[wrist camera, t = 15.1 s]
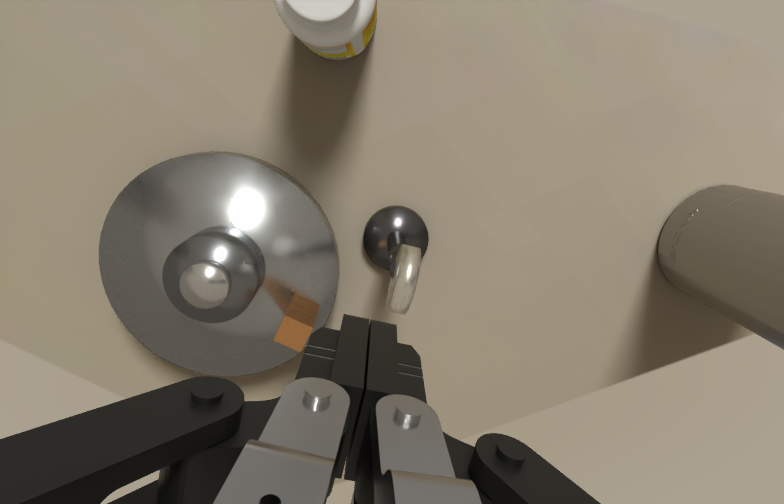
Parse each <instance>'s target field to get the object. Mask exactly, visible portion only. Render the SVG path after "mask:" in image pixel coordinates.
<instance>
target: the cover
mask: <svg viewBox="0 0 784 504" xmlns="http://www.w3.org/2000/svg"><path fill="white" fill-rule="evenodd" d="M265 272H266V264H265V259H264V256H263V254H262V251H261V249H260V248H259V246H258V245H257V244H256V242H255V241H254V240H253V239H252V238H251V237H249V236H248V235H247V234H245V233H244V232H242V231H240V230H237V229H235V228H231V227H226V226H213V227H209V228H205V229H203V230H201V231H199V232H197V233H196V234H194V235H193V236H191V237H190V238H188V239H187V240H185V241H184V242H182V243H181V244H179V245H178V246H177V247H175V248H174V249H173V250H172V251H171V253H170V254H169V255H168V257H167V259H166V261H165V263H164V266H163V271H162V281H163V286H164V290H165V292H166V295H167V297H168V298H169V300H170V301H171V303H172V304H173V305H174V306H175V307H176V308H177V309H178V310H179V311H180V312H181V313H183V314H184V315H186V316H187V317H189V318H191V319H194V320H196V321H200V322H204V323H222V322H226V321H229V320H232V319H234V318H236V317H237V316H239V315H240V314H241V313H242V312H244V311H245V310H246V308H247V307H248V306H249V304H250V303H251V301H252V300H253V298H254V297H255V295H256V294H257V292H258V291H259V289H260V287H261V286H262V284H263V281H264V278H265Z"/></svg>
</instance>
